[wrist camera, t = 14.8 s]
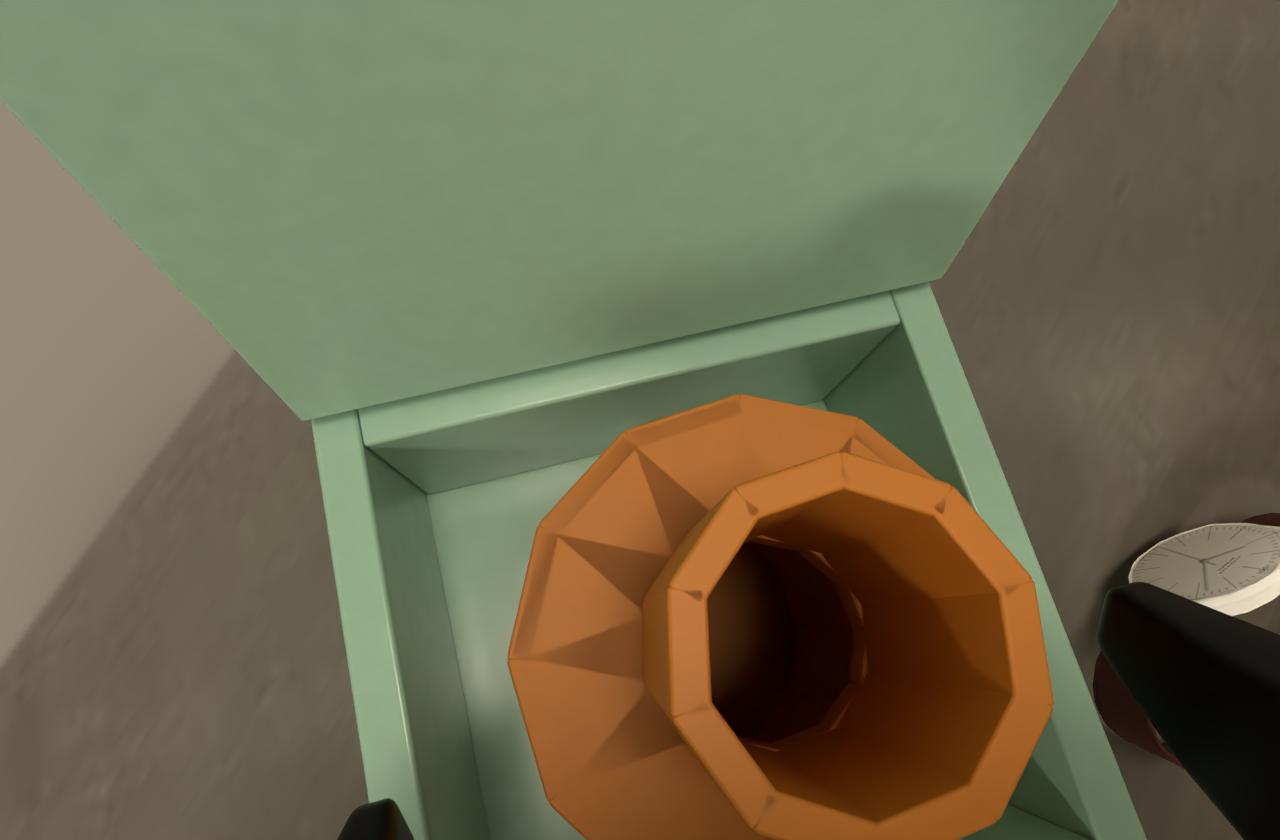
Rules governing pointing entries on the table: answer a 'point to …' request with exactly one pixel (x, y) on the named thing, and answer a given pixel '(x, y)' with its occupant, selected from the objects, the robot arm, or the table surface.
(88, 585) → the table surface
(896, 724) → the bottle
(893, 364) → the box
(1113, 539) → the table surface
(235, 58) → the lid
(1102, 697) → the watch
